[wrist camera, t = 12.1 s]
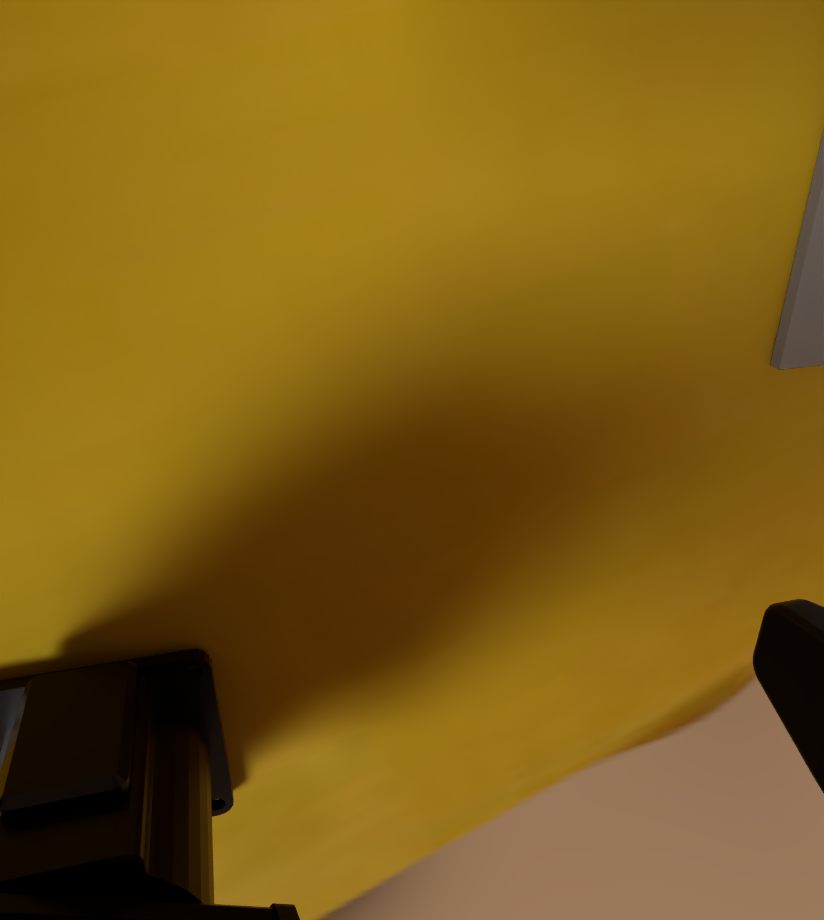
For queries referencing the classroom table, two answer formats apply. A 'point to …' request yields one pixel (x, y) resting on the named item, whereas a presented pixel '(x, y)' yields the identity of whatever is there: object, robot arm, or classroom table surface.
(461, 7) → the classroom table surface
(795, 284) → the mat
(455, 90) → the classroom table surface
